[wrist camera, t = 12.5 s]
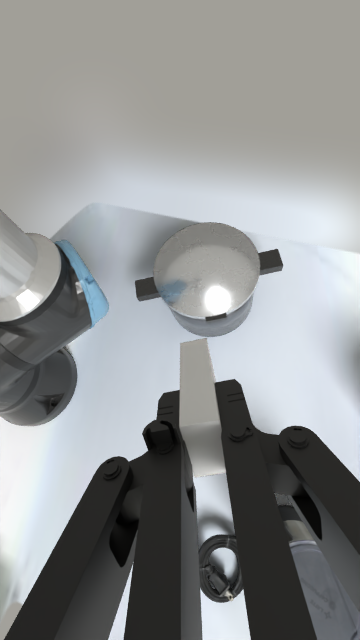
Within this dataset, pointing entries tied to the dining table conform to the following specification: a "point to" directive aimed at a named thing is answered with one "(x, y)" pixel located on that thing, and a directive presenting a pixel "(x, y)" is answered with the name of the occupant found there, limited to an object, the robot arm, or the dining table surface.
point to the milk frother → (314, 573)
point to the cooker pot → (268, 264)
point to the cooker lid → (207, 271)
